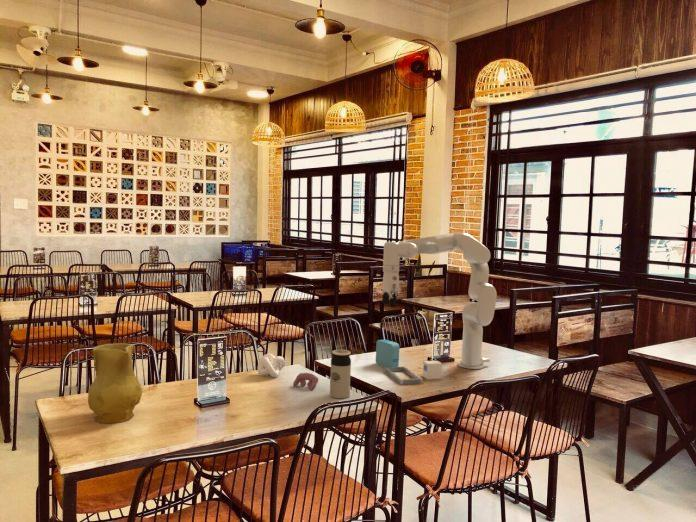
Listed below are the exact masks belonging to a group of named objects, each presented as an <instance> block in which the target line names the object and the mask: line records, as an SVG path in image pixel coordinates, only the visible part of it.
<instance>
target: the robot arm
mask: <svg viewBox="0 0 696 522" xmlns="http://www.w3.org/2000/svg"><path fill="white" fill-rule="evenodd" d="M452 251H453V252H454V251H462V256H463V257H464V259H465V261H467V263H468V264H469V266H470V278H469V279H470V280H469V285H468V296H469V298H470V299H471V300H474V301H477V302H468V303H467V304H465V305H464V306H463V308H462V312H461V313H462V315H461V316H462V323H463V325H462V327H463V328H462V329H463V330H462V343H461V357H460V358H461V360H459V361H458V362H457V365H458V366H459V367H461V368H463V369H469V370H481V369H483V368H484V367H485V364H484V363H490V362H491V361H490V360H491V359H490V358H489V357H487V358H486V357H482V350H483V336H484V335H483V334H484V333H483V332H484V328H483V327H486V326H489V325H490V324H491V322H492V321H493V319H494V315H495V310H496V304H497V297H498V293H497V290H496V287H495V286H493V284H490V283H489V275H490V269H489V265H488V263H489V261H490V260H491V257H492V256H491V251H490V250H489V249H488V247H486V246H485V245H484V244H483V243H481V242H480V241H479V240H477V239H476V238H475V237H473V236H472V235H471V234H469V233H466V232H458V231H457V232H451V233H449V232H448V233H445V234H439V235H432V236H426V237H420V238H418V237H417V238H412V239H406V240H405V239H404V240H400V241H399V242H395V241H386V242H385V243H384V244H383V260H382V272H383V277H382V299H381V300H382V302H381V303H382V304H389V307H391V308H397V306H398V296H399V293H400V275H399V273H400V258H402V259H413V258H415V257H417V255H420V254H421V255H423V254H424V255H425V254H427V255H436V254H437V255H438V254H442V253H447V252H452Z"/></svg>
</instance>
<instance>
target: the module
mask: <svg viewBox="0 0 696 522" xmlns="http://www.w3.org/2000/svg"><path fill="white" fill-rule="evenodd" d="M442 369H443V363H442V362H440V361H438V360H424V361H423V362H422V378H425V379H426V380H439V379H442V375H443V374H442V372H443V371H442Z"/></svg>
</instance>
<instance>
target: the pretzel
mask: <svg viewBox="0 0 696 522" xmlns="http://www.w3.org/2000/svg"><path fill="white" fill-rule="evenodd" d="M285 362H286V361H285V358H284V357H283V356H280V355H278V356H275V355H274V354H272V353H266V354H264V355H263V356H262V357H260V359H259V361H258V363H257V373H258V375H259V376H261V377H265V376H266V377H267V376H269V375H270V377H272V378H275V379H276V378H278V377H279V376H280V371H282V369H284V367H285V364H286V363H285Z"/></svg>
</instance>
